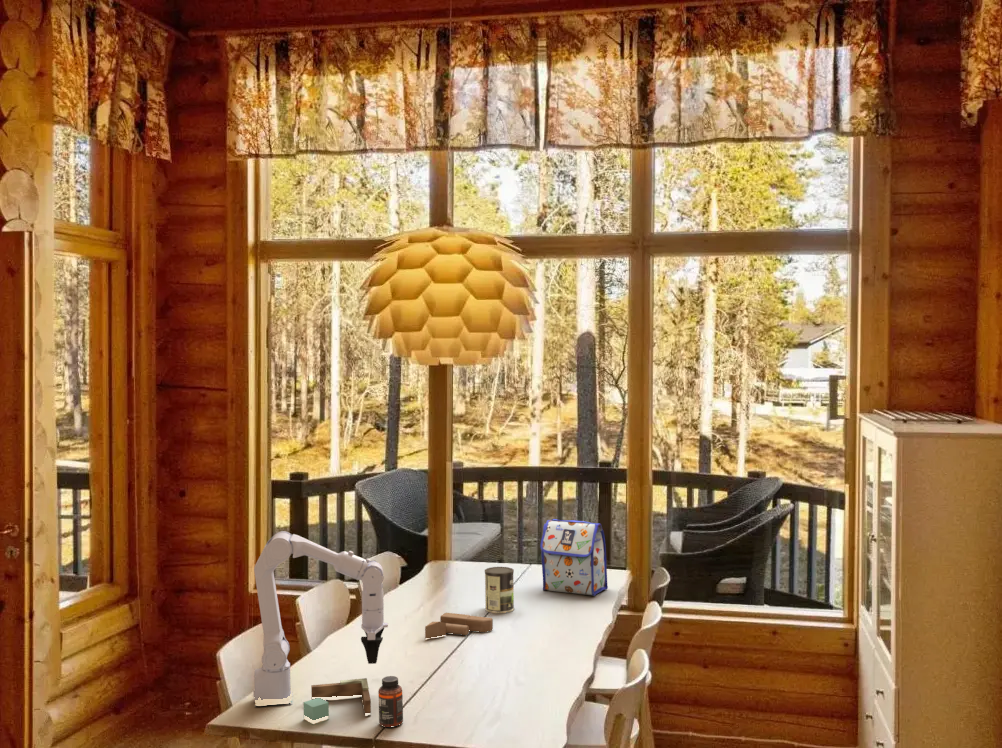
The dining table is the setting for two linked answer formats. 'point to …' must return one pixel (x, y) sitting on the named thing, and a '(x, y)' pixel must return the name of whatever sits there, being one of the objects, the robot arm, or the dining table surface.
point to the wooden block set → (458, 625)
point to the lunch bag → (573, 557)
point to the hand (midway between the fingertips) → (373, 658)
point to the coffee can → (499, 589)
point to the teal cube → (316, 708)
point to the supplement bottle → (390, 702)
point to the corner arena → (345, 690)
